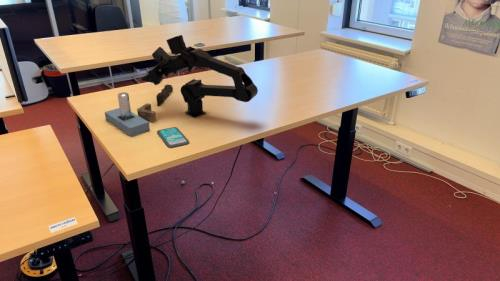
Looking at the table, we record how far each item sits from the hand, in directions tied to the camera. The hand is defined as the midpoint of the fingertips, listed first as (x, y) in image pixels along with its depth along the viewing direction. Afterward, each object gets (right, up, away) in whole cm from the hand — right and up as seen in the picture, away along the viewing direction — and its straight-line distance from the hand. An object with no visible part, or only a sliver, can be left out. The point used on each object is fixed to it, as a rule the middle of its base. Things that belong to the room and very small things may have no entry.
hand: (146, 75), depth 160 cm
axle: (-5, -22, -10) cm, 24 cm away
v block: (+1, -18, -3) cm, 19 cm away
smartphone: (+15, -27, -18) cm, 36 cm away
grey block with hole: (-5, -22, -10) cm, 24 cm away
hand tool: (+4, -9, +16) cm, 19 cm away
